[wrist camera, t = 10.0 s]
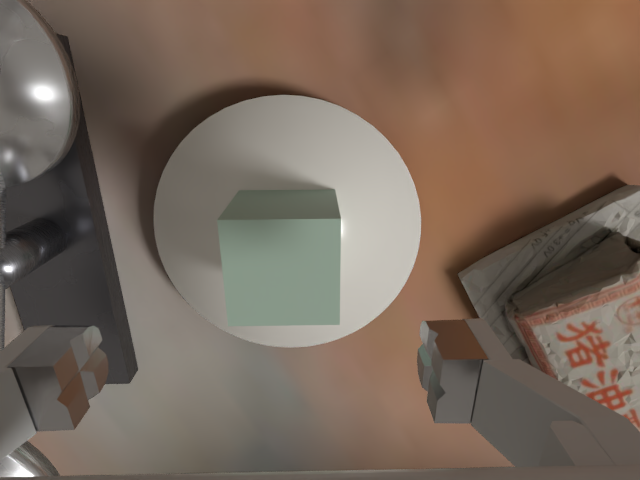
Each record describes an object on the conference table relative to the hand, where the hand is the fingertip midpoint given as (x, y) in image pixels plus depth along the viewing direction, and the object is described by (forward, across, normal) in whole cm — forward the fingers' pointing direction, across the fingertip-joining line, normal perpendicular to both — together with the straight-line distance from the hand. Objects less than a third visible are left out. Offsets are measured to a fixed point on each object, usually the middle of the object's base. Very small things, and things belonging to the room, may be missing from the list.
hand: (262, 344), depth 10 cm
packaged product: (+12, -18, +9) cm, 23 cm away
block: (+10, 0, +1) cm, 10 cm away
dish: (+11, 0, +1) cm, 11 cm away
